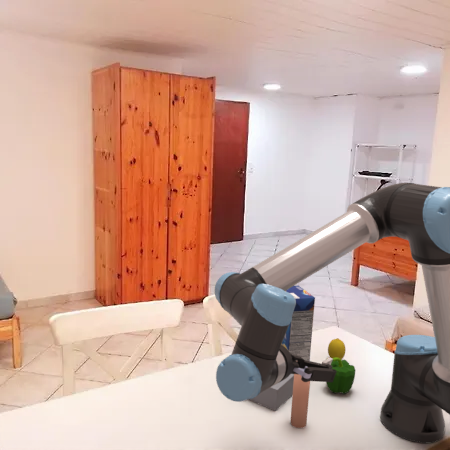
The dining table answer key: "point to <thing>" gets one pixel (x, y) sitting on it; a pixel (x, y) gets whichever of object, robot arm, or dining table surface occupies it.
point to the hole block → (276, 394)
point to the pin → (299, 402)
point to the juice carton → (300, 324)
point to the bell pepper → (342, 376)
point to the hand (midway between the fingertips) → (302, 349)
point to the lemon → (336, 349)
